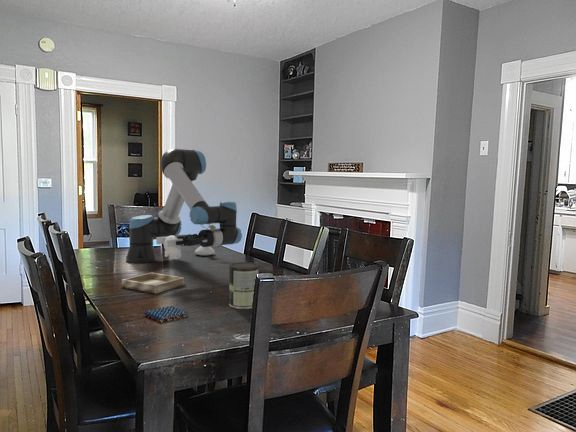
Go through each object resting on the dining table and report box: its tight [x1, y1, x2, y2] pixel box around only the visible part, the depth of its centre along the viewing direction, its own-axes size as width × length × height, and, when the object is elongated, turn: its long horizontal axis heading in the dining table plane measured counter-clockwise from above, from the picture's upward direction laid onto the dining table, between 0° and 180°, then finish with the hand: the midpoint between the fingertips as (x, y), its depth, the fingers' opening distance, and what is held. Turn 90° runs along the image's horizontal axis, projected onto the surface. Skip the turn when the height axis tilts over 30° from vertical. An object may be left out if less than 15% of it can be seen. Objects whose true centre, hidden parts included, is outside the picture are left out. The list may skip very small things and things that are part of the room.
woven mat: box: [143, 305, 189, 324], centre depth 137 cm, size 10×11×2 cm
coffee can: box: [228, 261, 260, 310], centre depth 151 cm, size 10×10×14 cm
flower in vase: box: [194, 224, 217, 257], centre depth 246 cm, size 13×11×25 cm
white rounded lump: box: [163, 236, 182, 260], centre depth 176 cm, size 6×8×12 cm
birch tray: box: [121, 272, 185, 294], centre depth 174 cm, size 18×16×3 cm
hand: (162, 242), depth 174 cm, fingers closed on white rounded lump, 8 cm apart
